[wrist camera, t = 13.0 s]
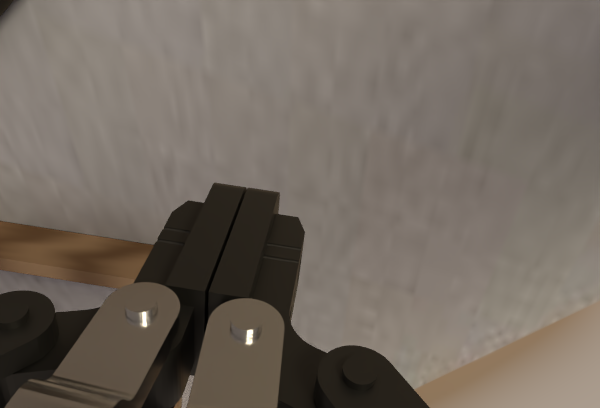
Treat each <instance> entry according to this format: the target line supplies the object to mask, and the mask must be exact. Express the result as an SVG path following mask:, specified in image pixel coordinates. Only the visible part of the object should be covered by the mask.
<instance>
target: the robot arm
mask: <svg viewBox="0 0 600 408" xmlns="http://www.w3.org/2000/svg"><path fill="white" fill-rule="evenodd" d="M279 200H280V193H279V192H273V191H267V190H260V189H253V188H248V189H247V188H246V187H240V186H233V185H227V184H220V183H214V184H213V186H212V188H211V190H210V192H209V194H208V196H207V198H206V200H205V202H204V203H201V202H195V201H187V202H186V203H184V204H183V205H181V206H180V207H179V208H177V209H176V210H174V211H173V212H172V213H171V215H170V217H169V219H168V221H167V223H166V224H165V226H164V230H162V232H161V234H160V235H159V237H158V241H157V242H156V243H155V244H154V246H153V248H152V250H151V252H150V254H149V255H148V257H147V259H146V261H145V263H144V265H143V266H142V268H141V270H140V272H139V274H138V276H137V277H136V279H135V281H134V283H133V284H129V285H126V286H124V287H121V288H119V289H117V290H116V291H114V292H113V293H112V294H111V295H109V296H108V298H107V299H106V300H105V301H104V303H103V304H102V306H101V307H99V308H95V309H89V310H80V311H68V312H56V313H55V308H54V305H53V303H52V302H51V300H50V299H49V298H47V297H46V296H44V295H43V294H40V293H37V292H33V291H13V292H7V293H4V294H0V408H181V407H182V395H183V392H184V390H185V387H186V384H187V381H188V378H189V376H190V375H194V380H193V384H192V388H191V392H190V396H189V400H188V404H187V407H186V408H429V407H428V405H427V404H426V403H425V402H424V401H423V400H422V399H421V397H420V396H419V395H418V394H417V393H416V392H415V391H414V389H413V388H412V387H411V386H410V385H409V384H408V382H407V381H406V380H405V379H404V378H403V377H402V376H401V374H400V373H399V372H398V371H397V370H396V369H395V368H394V366H393V365H392V364H391V363H390V362H389V361H388V360H387V359H386V358H385V357H384V356H382V355H381V354H379V353H377V352H376V351H374V350H371V349H369V348H365V347H362V346H342V347H338V348H335V349H333V350H331V351H330V352H328V353H326V352H324V351H321V350H319V349H317V348H315V347H313V346H311V345H309V344H308V343H306V342H305V341H304V340H302V339H301V338H300V337H299V336H298V335H297V333H296V332H295V331H294V329H293V327H292V325H291V318H292V312H293V307H294V302H295V297H296V291H297V286H298V280H299V272H300V265H301V257H302V250H303V242H304V235H305V232H304V229H303V227H302V225H301V222H300V220H299V218H298V217H293V216H286V215H280V214H278V210H279Z"/></svg>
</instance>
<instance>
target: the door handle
mask: <svg viewBox="0 0 600 408" xmlns="http://www.w3.org/2000/svg"><path fill="white" fill-rule="evenodd" d="M12 2H13V0H0V16H1V15H2V14H3V12H4V11H5V10H6V9H7V8H8V6H9V5H10V4H11V3H12Z"/></svg>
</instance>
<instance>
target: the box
mask: <svg viewBox="0 0 600 408" xmlns="http://www.w3.org/2000/svg"><path fill="white" fill-rule="evenodd" d="M153 246H154V245H149V244H143V243H137V242H130V241H124V240H117V239H111V238H105V237H98V236H92V235H86V234H79V233H73V232H66V231H60V230H54V229H47V228H41V227H35V226H28V225H22V224H15V223H9V222H3V221H0V270H5V271H12V272H18V273H24V274H30V275H36V276H43V277H49V278H55V279H61V280H68V281H74V282H80V283H86V284H93V285H99V286H105V287H111V288H118V289H119V288H121V287H124V286H126V285H129V284H133V283H134V281H135V279H136V277H137V276H138V274H139V272H140V270H141V268H142V266H143V265H144V263H145V261H146V259H147V257H148V255H149V254H150V252H151V250H152V248H153Z"/></svg>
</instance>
